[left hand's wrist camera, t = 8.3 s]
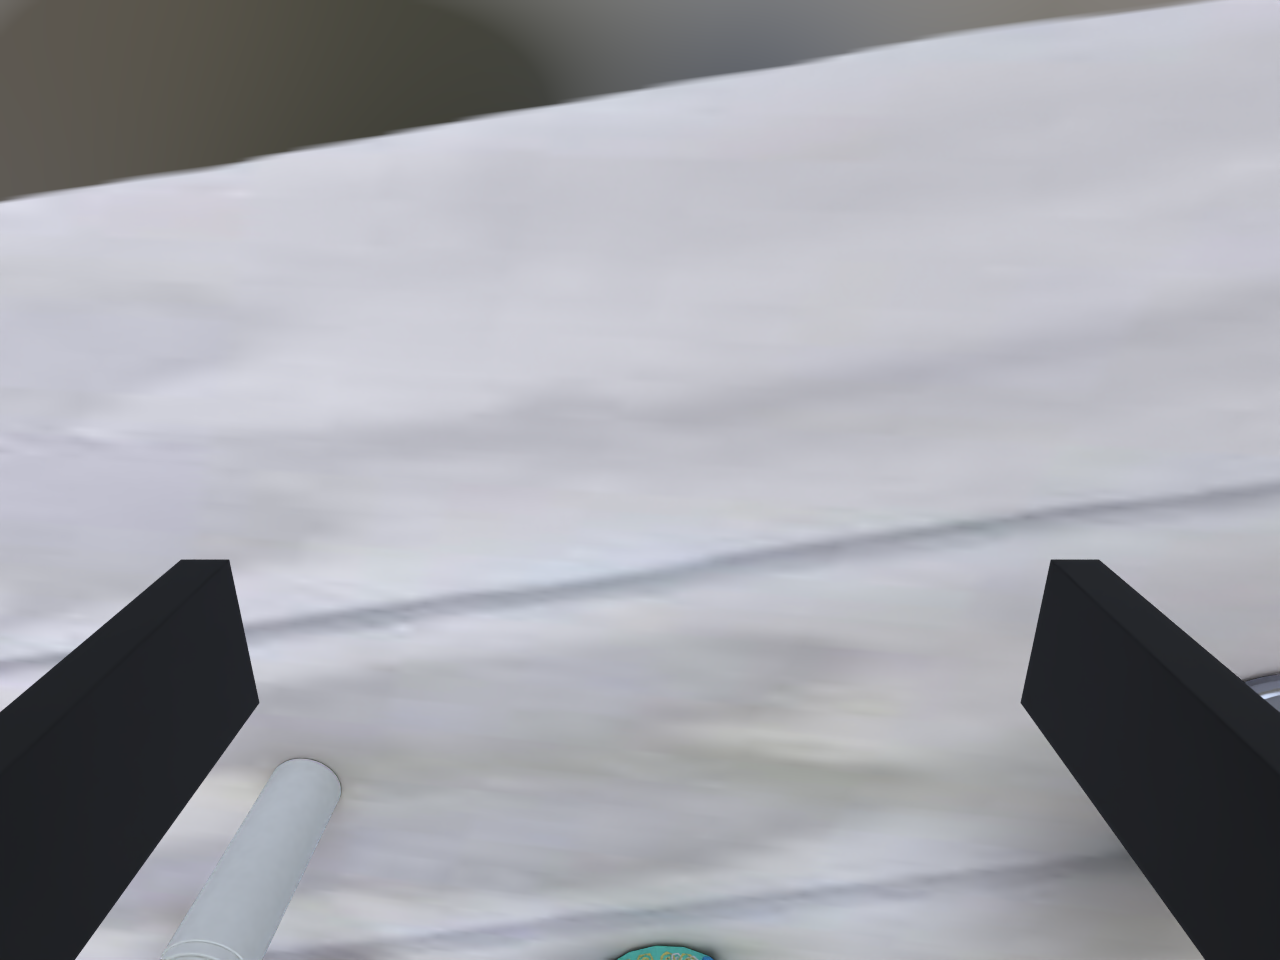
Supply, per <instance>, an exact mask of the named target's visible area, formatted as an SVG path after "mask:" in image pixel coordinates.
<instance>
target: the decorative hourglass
mask: <svg viewBox="0 0 1280 960" xmlns="http://www.w3.org/2000/svg"><path fill="white" fill-rule="evenodd" d="M617 960H713V959H712V958H711V957H710V956H707V955H704V954H702V953H699V952H696V951H693V950H691V949H688V948H685V947H670V946H653V947H649V948H645V949H640V950H636V951H632V952H628V953H627V954H625V955H624V956H622V957H620V958H619V959H617Z"/></svg>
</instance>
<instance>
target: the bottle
mask: <svg viewBox="0 0 1280 960" xmlns="http://www.w3.org/2000/svg"><path fill="white" fill-rule="evenodd" d="M340 795H341V785H340V782H339V780H338V778H337V776H336V775H335V774H334V772H333V771H332V770H331V769H329V768H328V767H327V766H325V765H324V764H322V763H319V762H317V761H314V760H310V759H292V760H289V761H286V762H284V763H282V764H281V765H279V766H278V767H277V768H276V769H275V770H274V772H273V774H272V775H271V777H270V779H269V780H268V782H267V784H266V785H265V787H264V789H263V790H262V792H261V793H260V795H259V797H258V798H257V800H256V802H255V803H254V805H253V807H252V808H251V810H250V811H249V813H248V815H247V816H246V818H245V820H244V821H243V823H242V825H241V826H240V828H239V829H238V831H237V833H236V834H235V836H234V838H233V839H232V841H231V843H230V844H229V846H228V847H227V849H226V851H225V852H224V854H223V856H222V857H221V859H220V861H219V862H218V864H217V866H216V867H215V869H214V870H213V872H212V874H211V875H210V877H209V879H208V880H207V882H206V884H205V885H204V887H203V888H202V890H201V892H200V893H199V895H198V897H197V898H196V900H195V902H194V903H193V905H192V906H191V908H190V910H189V911H188V913H187V915H186V916H185V918H184V920H183V921H182V923H181V924H180V926H179V928H178V929H177V931H176V933H175V934H174V936H173V938H172V939H171V941H170V942H169V944H168V946H167V947H166V949H165V951H164V952H163V954H162V956H161V958H160V960H262V959H263V957H264V955H265V953H266V951H267V948H268V946H269V944H270V942H271V940H272V938H273V936H274V934H275V932H276V930H277V928H278V926H279V923H280V921H281V919H282V917H283V915H284V913H285V911H286V909H287V907H288V905H289V903H290V901H291V898H292V896H293V894H294V892H295V890H296V888H297V886H298V884H299V882H300V880H301V878H302V876H303V873H304V871H305V869H306V867H307V865H308V863H309V861H310V859H311V857H312V855H313V853H314V850H315V848H316V846H317V844H318V842H319V840H320V838H321V836H322V834H323V832H324V830H325V828H326V825H327V823H328V821H329V819H330V817H331V815H332V813H333V811H334V809H335V807H336V805H337V803H338V800H339V798H340Z"/></svg>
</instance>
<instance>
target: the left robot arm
mask: <svg viewBox="0 0 1280 960" xmlns="http://www.w3.org/2000/svg"><path fill="white" fill-rule="evenodd" d="M258 704H259V699H258V694H257V689H256V685H255V680H254V675H253V670H252V666H251V661H250V656H249V652H248V647H247V642H246V637H245V633H244V628H243V623H242V618H241V614H240V609H239V604H238V599H237V595H236V590H235V585H234V580H233V576H232V571H231V566H230V561H229V560H180V561H179V562H178V563H177V564H175V565H174V566H173V567H172V568H171V569H170V570H168V571H167V572H166V573H165V574H164V575H162V576H161V577H160V578H159V579H158V580H156V581H155V582H154V583H153V584H152V585H151V586H149V587H148V588H147V589H146V590H145V591H143V592H142V593H141V594H140V595H139V596H137V597H136V598H135V599H134V600H133V601H132V602H130V603H129V604H128V605H127V606H126V607H124V608H123V609H122V610H121V611H120V612H119V613H117V614H116V615H115V616H114V617H113V618H111V619H110V620H109V621H108V622H107V623H105V624H104V625H103V626H102V627H101V628H100V629H98V630H97V631H96V632H95V633H94V634H92V635H91V636H90V637H89V638H88V639H86V640H85V641H84V642H83V643H82V644H81V645H79V646H78V647H77V648H76V649H75V650H73V651H72V652H71V653H70V654H69V655H68V656H66V657H65V658H64V659H63V660H62V661H60V662H59V663H58V664H57V665H56V666H54V667H53V668H52V669H51V670H50V671H49V672H47V673H46V674H45V675H44V676H43V677H41V678H40V679H39V680H38V681H37V682H36V683H34V684H33V685H32V686H31V687H30V688H28V689H27V690H26V691H25V692H24V693H22V694H21V695H20V696H19V697H18V698H17V699H15V700H14V701H13V702H12V703H11V704H9V705H8V706H7V707H6V708H5V709H3V710H2V711H1V712H0V960H75V959H76V957H77V956H78V955H79V953H80V952H81V950H82V949H83V948H84V946H85V945H86V943H87V942H88V941H89V939H90V938H91V937H92V935H93V934H94V932H95V931H96V930H97V928H98V927H99V925H100V924H101V923H102V921H103V920H104V918H105V917H106V916H107V914H108V913H109V911H110V910H111V909H112V907H113V906H114V905H115V903H116V902H117V900H118V899H119V898H120V896H121V895H122V893H123V892H124V891H125V889H126V888H127V886H128V885H129V884H130V882H131V881H132V879H133V878H134V877H135V875H136V874H137V872H138V871H139V870H140V868H141V867H142V866H143V864H144V863H145V861H146V860H147V859H148V857H149V856H150V854H151V853H152V852H153V850H154V849H155V847H156V846H157V845H158V843H159V842H160V840H161V839H162V838H163V836H164V835H165V833H166V832H167V831H168V829H169V828H170V827H171V825H172V824H173V822H174V821H175V820H176V818H177V817H178V815H179V814H180V813H181V811H182V810H183V808H184V807H185V806H186V804H187V803H188V801H189V800H190V799H191V797H192V796H193V794H194V793H195V792H196V790H197V789H198V788H199V786H200V785H201V783H202V782H203V781H204V779H205V778H206V776H207V775H208V774H209V772H210V771H211V769H212V768H213V767H214V765H215V764H216V762H217V761H218V760H219V758H220V757H221V756H222V754H223V753H224V751H225V750H226V749H227V747H228V746H229V744H230V743H231V742H232V740H233V739H234V737H235V736H236V735H237V733H238V732H239V730H240V729H241V728H242V726H243V725H244V723H245V722H246V721H247V719H248V718H249V717H250V715H251V714H252V712H253V711H254V710H255V708H256V707H257V705H258ZM1021 704H1022V705H1023V707H1024V708H1025V710H1026V711H1027V712H1028V714H1029V715H1030V717H1031V718H1032V719H1033V721H1034V722H1035V723H1036V725H1037V726H1038V728H1039V729H1040V730H1041V732H1042V733H1043V735H1044V736H1045V737H1046V739H1047V740H1048V742H1049V743H1050V744H1051V746H1052V747H1053V749H1054V750H1055V751H1056V753H1057V754H1058V756H1059V757H1060V758H1061V760H1062V761H1063V762H1064V764H1065V765H1066V767H1067V768H1068V769H1069V771H1070V772H1071V774H1072V775H1073V776H1074V778H1075V779H1076V781H1077V782H1078V783H1079V785H1080V786H1081V788H1082V789H1083V790H1084V792H1085V793H1086V794H1087V796H1088V797H1089V799H1090V800H1091V801H1092V803H1093V804H1094V806H1095V807H1096V808H1097V810H1098V811H1099V813H1100V814H1101V815H1102V817H1103V818H1104V820H1105V821H1106V822H1107V824H1108V825H1109V827H1110V828H1111V829H1112V831H1113V832H1114V833H1115V835H1116V836H1117V838H1118V839H1119V840H1120V842H1121V843H1122V845H1123V846H1124V847H1125V849H1126V850H1127V852H1128V853H1129V854H1130V856H1131V857H1132V859H1133V860H1134V861H1135V863H1136V864H1137V866H1138V867H1139V868H1140V870H1141V871H1142V872H1143V874H1144V875H1145V877H1146V878H1147V879H1148V881H1149V882H1150V884H1151V885H1152V886H1153V888H1154V889H1155V891H1156V892H1157V893H1158V895H1159V896H1160V898H1161V899H1162V900H1163V902H1164V903H1165V905H1166V906H1167V907H1168V909H1169V910H1170V911H1171V913H1172V914H1173V916H1174V917H1175V918H1176V920H1177V921H1178V923H1179V924H1180V925H1181V927H1182V928H1183V930H1184V931H1185V932H1186V934H1187V935H1188V937H1189V938H1190V939H1191V941H1192V942H1193V944H1194V945H1195V946H1196V948H1197V949H1198V950H1199V952H1200V953H1201V955H1202V956H1203V957H1204V959H1205V960H1280V674H1276V675H1271V676H1265V677H1260V678H1256V679H1253V680H1249V681H1246V682H1243V681H1242V680H1241V679H1240V678H1239V677H1237V676H1236V675H1235V674H1234V673H1233V672H1231V671H1230V670H1229V669H1228V668H1227V667H1226V666H1224V665H1223V664H1222V663H1221V662H1220V661H1218V660H1217V659H1216V658H1215V657H1214V656H1212V655H1211V654H1210V653H1209V652H1208V651H1207V650H1205V649H1204V648H1203V647H1202V646H1201V645H1199V644H1198V643H1197V642H1196V641H1195V640H1194V639H1192V638H1191V637H1190V636H1189V635H1188V634H1186V633H1185V632H1184V631H1183V630H1182V629H1180V628H1179V627H1178V626H1177V625H1176V624H1175V623H1173V622H1172V621H1171V620H1170V619H1169V618H1167V617H1166V616H1165V615H1164V614H1163V613H1161V612H1160V611H1159V610H1158V609H1157V608H1156V607H1154V606H1153V605H1152V604H1151V603H1150V602H1148V601H1147V600H1146V599H1145V598H1144V597H1143V596H1141V595H1140V594H1139V593H1138V592H1137V591H1135V590H1134V589H1133V588H1132V587H1131V586H1129V585H1128V584H1127V583H1126V582H1125V581H1124V580H1122V579H1121V578H1120V577H1119V576H1118V575H1116V574H1115V573H1114V572H1113V571H1112V570H1110V569H1109V568H1108V567H1107V566H1106V565H1105V564H1103V563H1102V562H1101V561H1100V560H1051V561H1050V566H1049V571H1048V576H1047V580H1046V585H1045V590H1044V595H1043V599H1042V604H1041V609H1040V614H1039V618H1038V623H1037V628H1036V633H1035V637H1034V642H1033V647H1032V652H1031V656H1030V661H1029V666H1028V670H1027V675H1026V680H1025V685H1024V689H1023V694H1022V699H1021Z"/></svg>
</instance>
